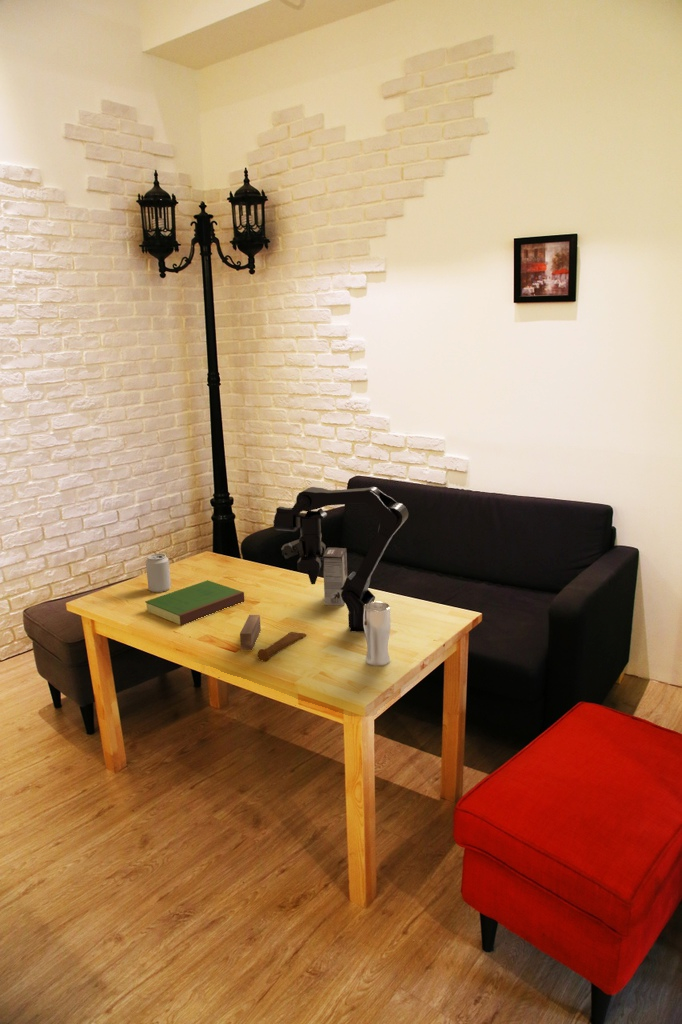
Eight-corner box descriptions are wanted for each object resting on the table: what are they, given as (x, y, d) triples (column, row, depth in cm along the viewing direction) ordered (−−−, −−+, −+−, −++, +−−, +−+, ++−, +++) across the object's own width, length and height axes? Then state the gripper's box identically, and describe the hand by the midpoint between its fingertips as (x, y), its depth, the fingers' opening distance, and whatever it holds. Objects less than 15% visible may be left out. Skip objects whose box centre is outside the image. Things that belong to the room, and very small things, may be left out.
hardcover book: (181, 627, 209) (180, 615, 208) (146, 612, 221) (144, 601, 221) (246, 602, 227) (245, 591, 226) (210, 590, 239) (209, 579, 238)
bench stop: (260, 631, 203) (259, 614, 202) (252, 650, 191) (250, 633, 189) (250, 631, 203) (249, 614, 202) (241, 650, 191) (239, 633, 190)
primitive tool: (291, 633, 202) (290, 621, 201) (308, 636, 200) (307, 624, 199) (255, 661, 185) (255, 649, 184) (273, 665, 183) (273, 653, 182)
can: (175, 588, 240) (172, 554, 238) (157, 594, 235) (153, 560, 232) (162, 584, 245) (159, 551, 242) (144, 590, 240) (140, 556, 237)
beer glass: (386, 668, 178) (385, 612, 174) (360, 664, 180) (358, 609, 177) (395, 657, 184) (394, 602, 180) (370, 653, 187) (368, 599, 183)
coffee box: (329, 594, 230) (327, 547, 226) (348, 595, 229) (347, 547, 225) (324, 605, 221) (321, 555, 217) (344, 605, 220) (342, 556, 216)
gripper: (287, 524, 211) (290, 573, 215) (277, 541, 193) (280, 595, 196) (324, 523, 210) (326, 573, 214) (318, 541, 192) (320, 595, 196)
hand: (313, 584), depth 205 cm, fingers closed
